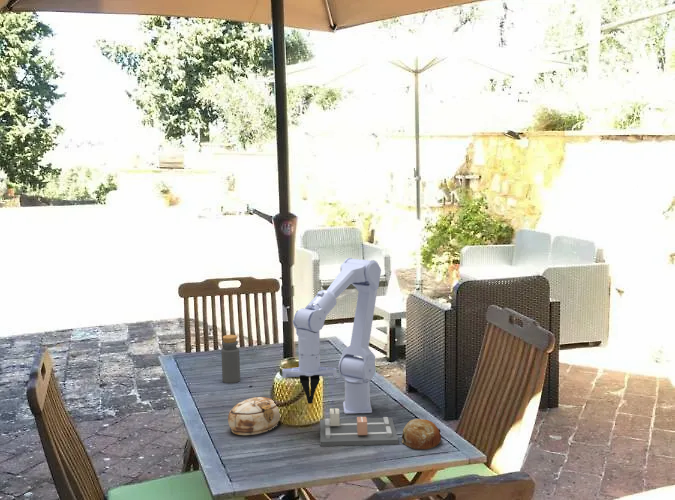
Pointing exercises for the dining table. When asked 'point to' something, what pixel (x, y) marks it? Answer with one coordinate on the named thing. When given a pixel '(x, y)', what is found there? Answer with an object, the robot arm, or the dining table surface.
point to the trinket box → (253, 416)
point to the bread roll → (421, 434)
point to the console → (346, 433)
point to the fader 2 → (362, 425)
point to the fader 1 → (334, 417)
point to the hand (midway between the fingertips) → (310, 402)
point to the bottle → (230, 359)
